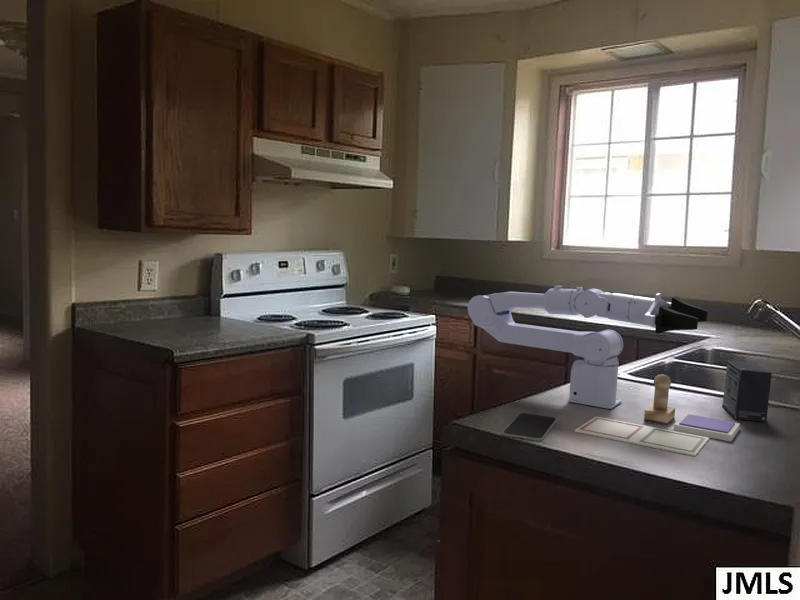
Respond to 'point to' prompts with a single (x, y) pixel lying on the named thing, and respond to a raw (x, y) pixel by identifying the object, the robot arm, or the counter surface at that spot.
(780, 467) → the counter surface
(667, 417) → the stamp
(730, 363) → the small box
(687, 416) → the ink pad
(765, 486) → the counter surface
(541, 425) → the smartphone
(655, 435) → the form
